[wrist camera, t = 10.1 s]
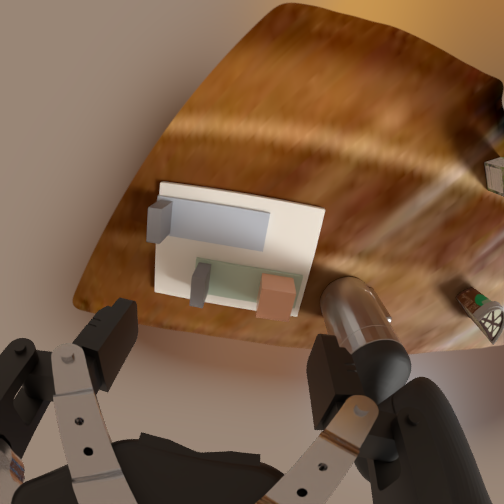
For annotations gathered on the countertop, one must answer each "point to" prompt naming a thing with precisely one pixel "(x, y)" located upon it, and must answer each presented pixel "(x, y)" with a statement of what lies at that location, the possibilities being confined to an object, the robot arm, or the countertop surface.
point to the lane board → (273, 256)
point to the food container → (483, 313)
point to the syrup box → (495, 175)
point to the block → (275, 297)
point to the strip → (206, 223)
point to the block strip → (230, 281)
